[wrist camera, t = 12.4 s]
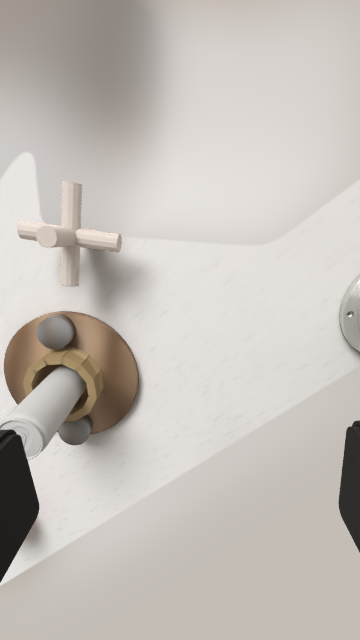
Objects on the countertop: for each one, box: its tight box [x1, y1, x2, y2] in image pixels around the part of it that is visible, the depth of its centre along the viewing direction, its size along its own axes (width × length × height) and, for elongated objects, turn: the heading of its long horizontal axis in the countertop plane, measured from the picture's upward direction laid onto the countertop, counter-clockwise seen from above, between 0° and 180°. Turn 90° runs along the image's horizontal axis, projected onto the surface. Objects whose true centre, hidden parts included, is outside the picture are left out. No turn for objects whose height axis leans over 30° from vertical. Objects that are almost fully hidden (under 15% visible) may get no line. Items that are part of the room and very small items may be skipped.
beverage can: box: [0, 365, 87, 460], centre depth 33 cm, size 5×5×12 cm
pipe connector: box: [18, 181, 121, 287], centre depth 29 cm, size 10×10×10 cm
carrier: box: [4, 311, 138, 445], centre depth 38 cm, size 18×18×4 cm
